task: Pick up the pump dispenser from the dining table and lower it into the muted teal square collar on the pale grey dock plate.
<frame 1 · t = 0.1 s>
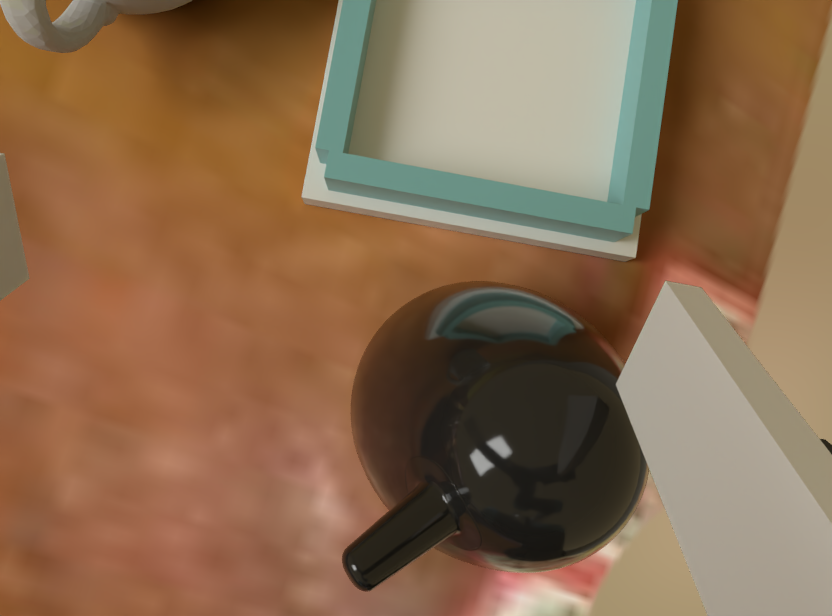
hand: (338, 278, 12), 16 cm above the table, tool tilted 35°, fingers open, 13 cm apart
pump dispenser: (460, 397, 27), on the table, touching gripper
dock: (492, 78, 28), on the table
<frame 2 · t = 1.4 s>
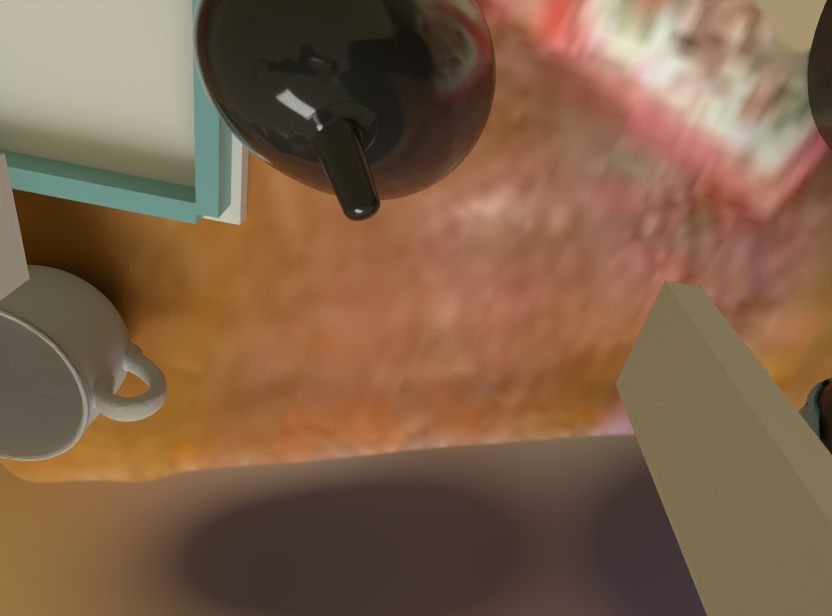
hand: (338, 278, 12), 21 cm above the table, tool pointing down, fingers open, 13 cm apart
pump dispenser: (402, 90, 28), point 1 cm above the table
dock: (95, 43, 29), on the table
teacup: (96, 322, 38), on the table
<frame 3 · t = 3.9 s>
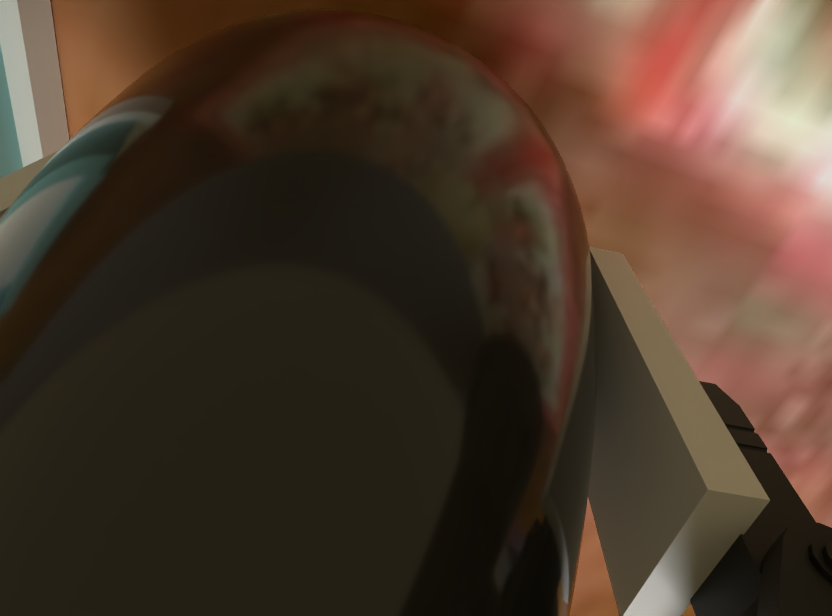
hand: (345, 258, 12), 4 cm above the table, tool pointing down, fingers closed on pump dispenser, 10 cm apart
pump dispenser: (370, 202, 16), on the table, touching gripper
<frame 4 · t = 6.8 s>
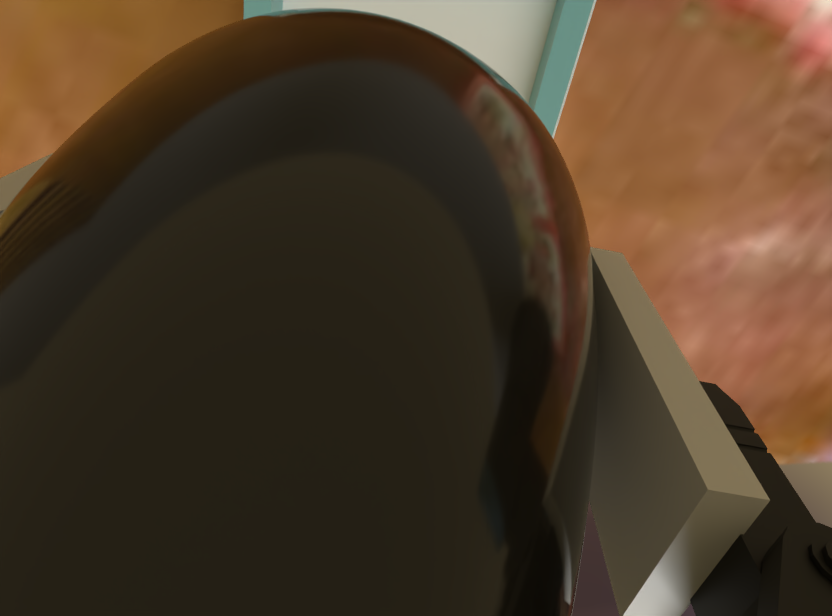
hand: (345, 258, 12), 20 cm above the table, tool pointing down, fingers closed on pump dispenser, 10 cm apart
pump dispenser: (370, 201, 16), point 16 cm above the table, touching gripper
dock: (404, 89, 29), on the table
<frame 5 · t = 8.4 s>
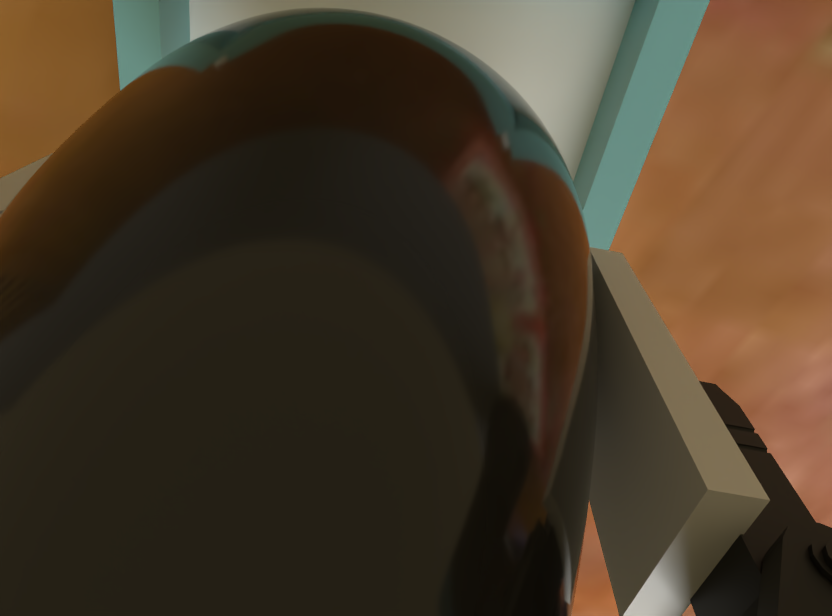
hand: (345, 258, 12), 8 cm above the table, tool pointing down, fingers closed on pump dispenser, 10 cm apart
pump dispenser: (370, 201, 16), point 5 cm above the table, touching gripper
dock: (386, 151, 20), on the table
when the fingers open (6 cm above the table, at t = 9.7 s): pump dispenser drops 1 cm, resting on dock.
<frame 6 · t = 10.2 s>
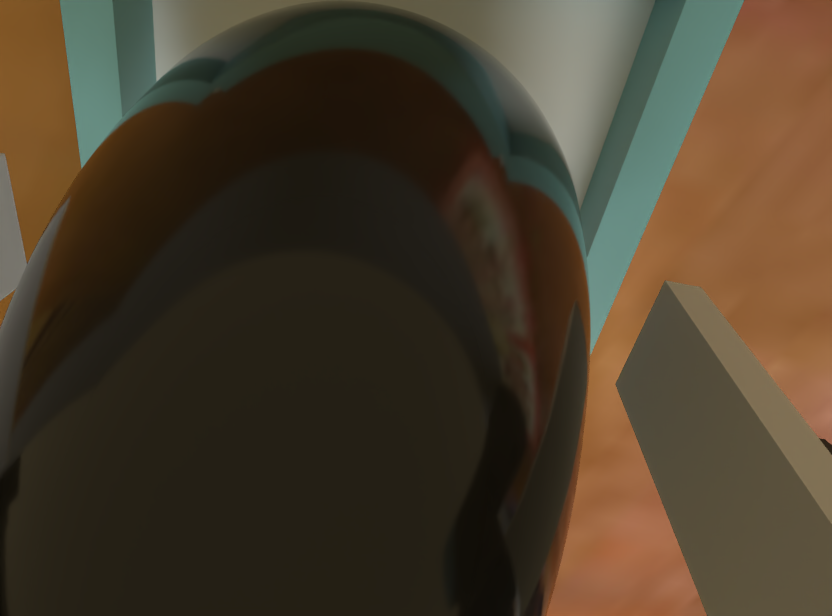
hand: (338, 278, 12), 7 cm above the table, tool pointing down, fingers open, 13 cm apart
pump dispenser: (373, 185, 17), point 1 cm above the table, touching dock
dock: (376, 169, 18), on the table
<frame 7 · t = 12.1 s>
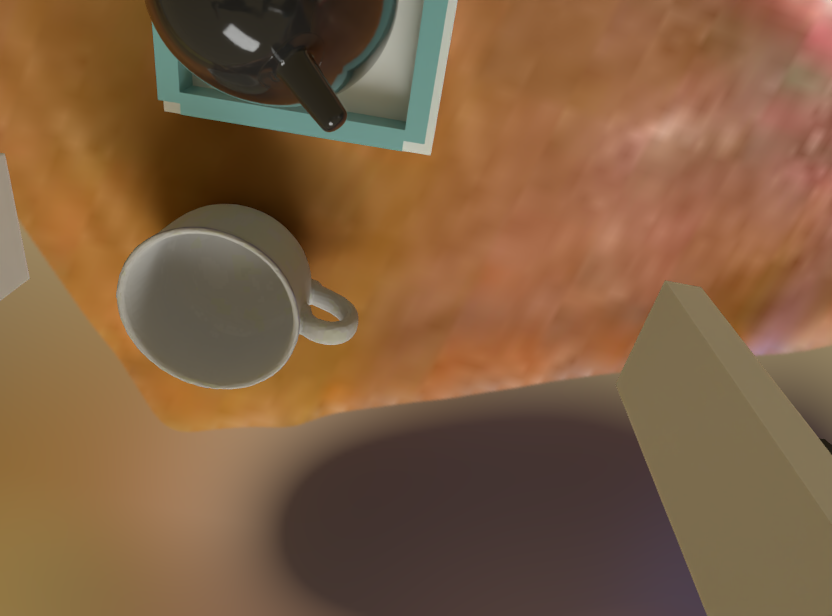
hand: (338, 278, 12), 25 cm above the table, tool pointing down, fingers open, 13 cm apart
teacup: (268, 263, 40), on the table
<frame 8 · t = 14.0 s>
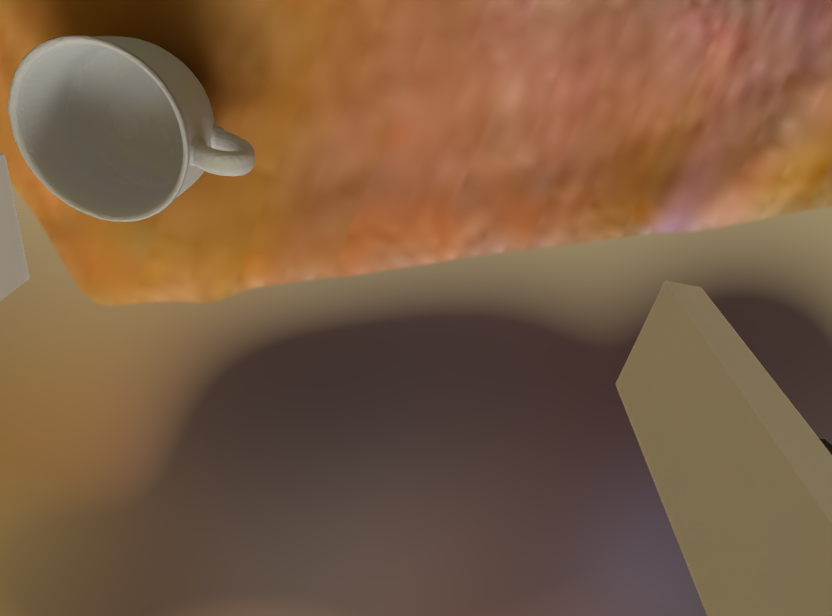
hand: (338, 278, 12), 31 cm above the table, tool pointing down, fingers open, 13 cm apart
teacup: (179, 117, 41), on the table
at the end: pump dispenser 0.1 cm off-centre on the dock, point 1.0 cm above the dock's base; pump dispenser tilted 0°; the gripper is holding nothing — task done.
